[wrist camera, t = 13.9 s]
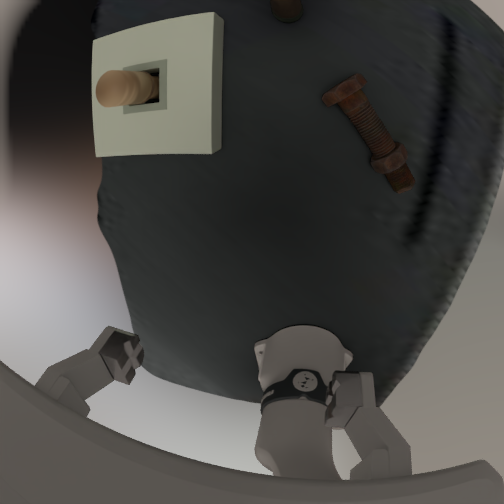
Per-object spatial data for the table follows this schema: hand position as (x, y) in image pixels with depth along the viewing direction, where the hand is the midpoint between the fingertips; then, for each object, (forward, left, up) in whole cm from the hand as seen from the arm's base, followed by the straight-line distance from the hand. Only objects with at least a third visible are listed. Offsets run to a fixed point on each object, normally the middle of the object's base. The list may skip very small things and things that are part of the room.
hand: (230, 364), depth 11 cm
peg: (+12, +18, -29) cm, 36 cm away
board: (+12, +18, -29) cm, 36 cm away
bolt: (+7, -10, -30) cm, 32 cm away
